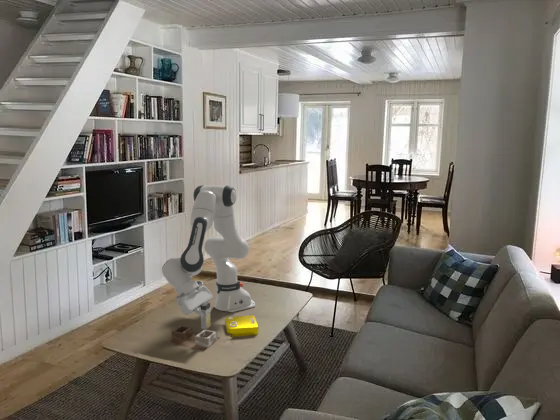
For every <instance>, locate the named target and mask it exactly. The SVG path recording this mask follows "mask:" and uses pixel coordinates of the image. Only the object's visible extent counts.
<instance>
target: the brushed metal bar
mask: <svg viewBox="0 0 560 420" xmlns="http://www.w3.org/2000/svg"><path fill="white" fill-rule="evenodd" d="M210 309H211V302H208V303H207V302H205V303H203V304H202V305H201V307H200V311H201V312H204V313H205V316H203V317H202V318H201V317H200V329H202V330H208V329H209V328H210V327H211V326H212V325H211V312H210Z"/></svg>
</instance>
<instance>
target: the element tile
mask: <svg viewBox="0 0 560 420" xmlns="http://www.w3.org/2000/svg"><path fill="white" fill-rule="evenodd" d="M224 326H225V329H226V333H227V334H228V335H230V336H229V337H230V338H236V337H237V336H238V337H246V336H247V337H249V336H257V335H259V324H258V322H257V319H256V317H255V316H254V315H252V314H251V315H239V316H226V317H225V318H224ZM238 337H237V338H238Z"/></svg>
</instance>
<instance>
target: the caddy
mask: <svg viewBox="0 0 560 420" xmlns="http://www.w3.org/2000/svg"><path fill="white" fill-rule="evenodd" d="M220 339H221V337H219V336H218V331H215V330H209V329H202V331H201V332H199V333H198V332H194V331H193V327H192V326H187V325H179V326H178V327H176V328H175V329H173V330H172V331H171V339H169V340H168V341H167V342H166V343H168V344H172V345H178V346H182V347H186V348H191V349H196V350H202V351H207V350H208V349H209V348H210V347H211V346H213V345H214V344H215V343H216V342H217V341H219V340H220Z"/></svg>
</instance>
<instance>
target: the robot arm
mask: <svg viewBox="0 0 560 420" xmlns="http://www.w3.org/2000/svg"><path fill="white" fill-rule="evenodd" d="M193 191H194V192H193V201H194V203H193V205H192V210H191V214H190V215H191V216H190V226H191V232H190V236H189V240H188V243H187V247H186V249H185V250H184V251H183V252H182V254H181V256H180V257H177V258H173V257H171V258H169V259H168V260H166V261H165V263H164V264H163V265H162V267H161V273H162V275H163V277H164V278H165V280H166V282H168V284H169V285H170V286H172V288H173V289H174V291H175V292H176V294H177V296H176V297H175V301H176V302H177V305H178V307H179V309H180V310H181V312H183V314H184V315H186V316H188V315H189V314H191V313H192V312H194V313H195V314H196V315H198V316H199V317H200V319H201V318H202V317H203V316H205V313H204V312H201V309H200V308H201V305H202V304H203V303H205V302H207V303H210V301H211V300H212V299H213V298H214V296H213V294H212V292H211V291H210V289H209V288H208V287H207V286H205V285H204V282H203V281H202V280H193V278H192V277H195V276H196V275H198V274H200V273H201V272H202V270H203V266H204V261H205V259H204V254H203V248H204V251H205V252H206V254H207V255H208V256H209V257H210V259H211V260H212V261H213V263H214V266H215V269H216V270H215V271H216V283H215V289H216V290H215V291H216V298H215V303H214V308H215V310H218V311H223V312H229V313H235V312H238V311H242V310H244V311H245V310H246V309H251V308H255V307H256V302H255V301H254V300H253V299H252V297H251V294H250V293H249V292H248V291H247V290H245V289H244V288H243V286H244V283H242V282H241V281H239V280H238V269H237V268H238V267H236V265H235V264H234V263H233V262H232V261H231V260H230V259H233V260H238V259H239V260H240V259H245V258H246V257H247V256H248V255H249V252H250V246H249V244H248V241H247V240H245V239H244V238H243V237H242V236H241V235H240V233H239V231H238V229H237V225H236V222H235V221H236V220H235V211H234V206H233V205H234V204H235V203H236V201H237V192H236V190H235V188H234V187H233V186H231V185H221V184H220V185H219V184H209V185H203V184H201V185H198V186H197V187H196V188H195V189H194V190H193ZM212 225H213V227H214V229H215V231H216V232H217V233H218V234H220V235H221V236H210V237H208V238H207V239H206V240H205V235H206V232H207V231H208V230H209V229H211V227H212ZM204 240H205V242H204ZM203 246H204V247H203ZM211 312H212V308H210V313H211Z"/></svg>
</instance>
